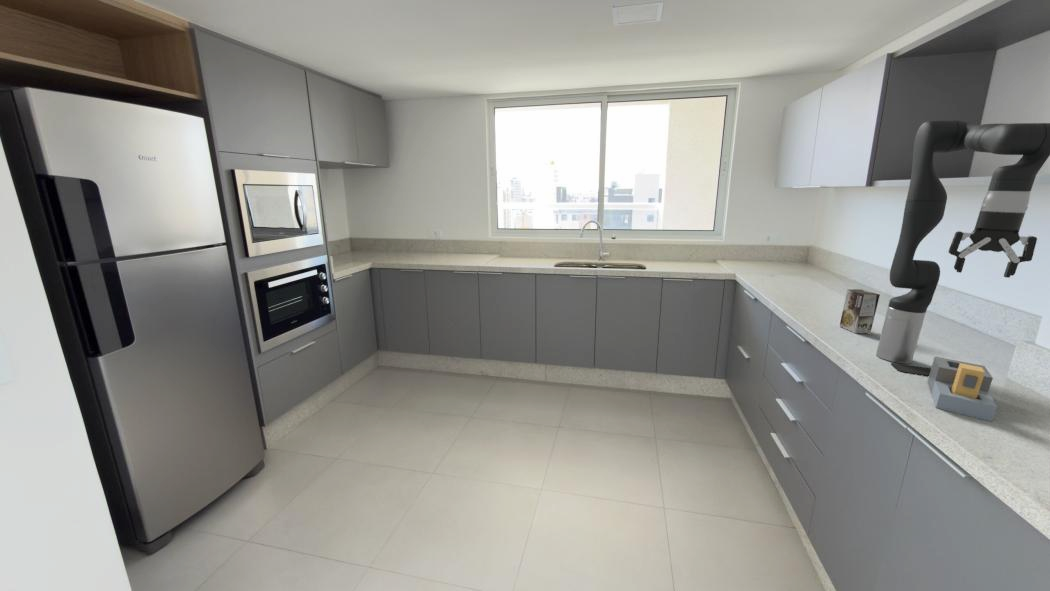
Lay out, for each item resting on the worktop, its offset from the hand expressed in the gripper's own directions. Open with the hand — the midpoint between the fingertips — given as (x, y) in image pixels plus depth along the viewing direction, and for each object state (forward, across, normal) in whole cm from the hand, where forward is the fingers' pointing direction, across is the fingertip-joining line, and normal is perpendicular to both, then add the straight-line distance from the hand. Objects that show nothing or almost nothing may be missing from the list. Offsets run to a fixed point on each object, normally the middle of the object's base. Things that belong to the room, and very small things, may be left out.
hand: (981, 274), depth 107 cm
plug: (+32, -2, +8) cm, 34 cm away
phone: (+34, +3, -16) cm, 38 cm away
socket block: (+34, -2, +3) cm, 34 cm away
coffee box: (+35, +21, -53) cm, 66 cm away
